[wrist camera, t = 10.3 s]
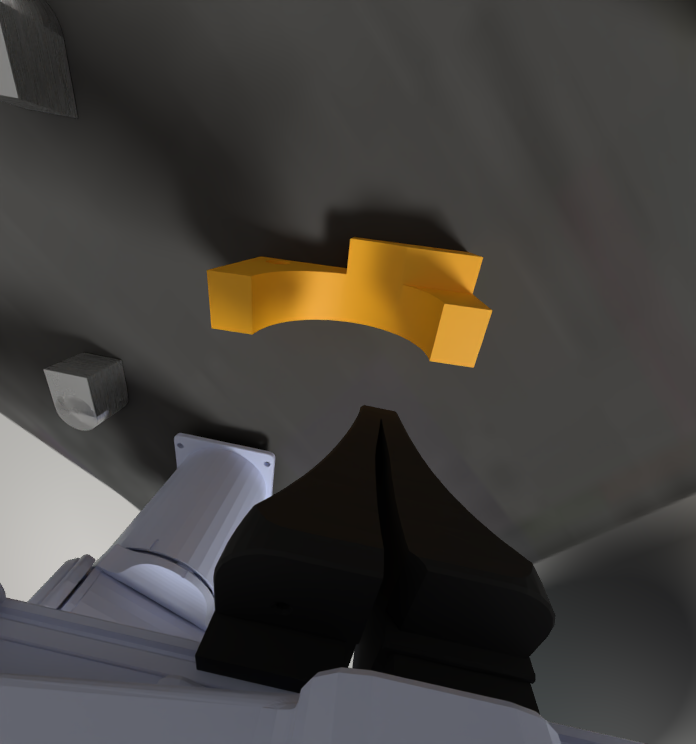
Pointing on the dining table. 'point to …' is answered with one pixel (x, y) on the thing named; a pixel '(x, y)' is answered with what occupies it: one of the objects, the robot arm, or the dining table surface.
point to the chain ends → (55, 96)
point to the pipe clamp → (362, 295)
